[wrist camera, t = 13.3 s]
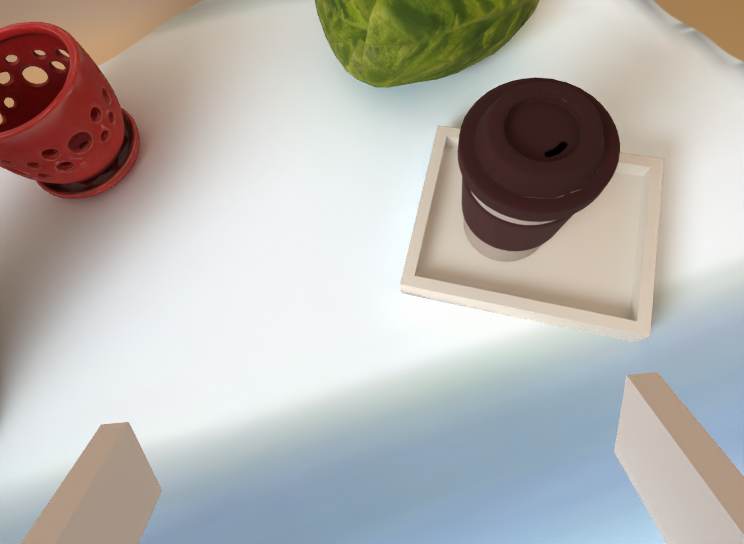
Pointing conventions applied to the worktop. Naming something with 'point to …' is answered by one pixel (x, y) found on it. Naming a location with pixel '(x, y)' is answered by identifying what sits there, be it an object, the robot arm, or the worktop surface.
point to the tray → (545, 253)
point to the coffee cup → (531, 163)
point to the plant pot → (61, 116)
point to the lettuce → (417, 35)
